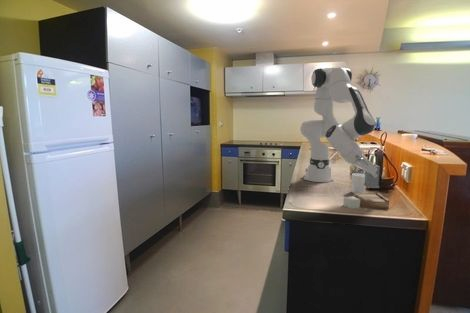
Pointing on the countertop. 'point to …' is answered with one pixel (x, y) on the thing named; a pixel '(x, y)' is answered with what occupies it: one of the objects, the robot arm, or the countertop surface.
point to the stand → (372, 200)
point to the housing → (372, 178)
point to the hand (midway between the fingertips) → (373, 175)
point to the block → (351, 202)
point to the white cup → (358, 183)
